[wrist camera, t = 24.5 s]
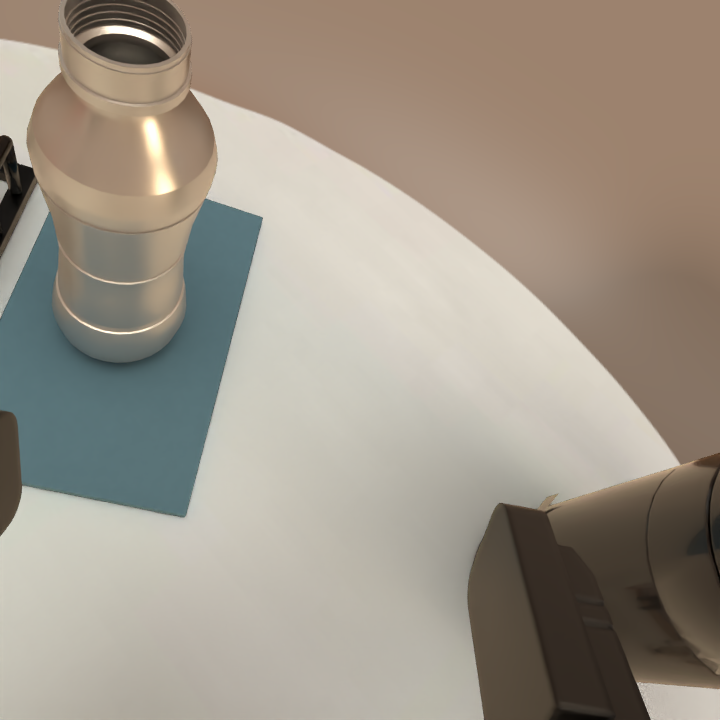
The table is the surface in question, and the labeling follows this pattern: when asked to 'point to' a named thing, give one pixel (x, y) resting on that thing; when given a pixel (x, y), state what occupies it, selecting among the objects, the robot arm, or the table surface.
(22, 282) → the drying mat
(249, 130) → the table surface
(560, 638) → the robot arm
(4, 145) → the dish rack
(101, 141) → the beige bottle
